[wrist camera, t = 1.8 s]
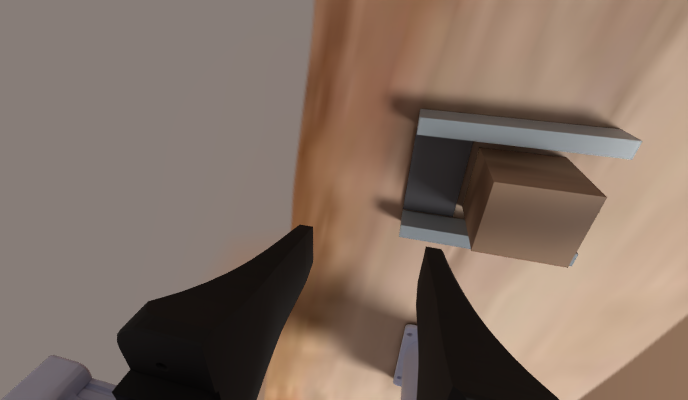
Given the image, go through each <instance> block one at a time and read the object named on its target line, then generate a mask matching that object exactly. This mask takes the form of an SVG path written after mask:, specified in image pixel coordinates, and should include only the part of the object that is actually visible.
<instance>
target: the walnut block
mask: <svg viewBox="0 0 688 400" xmlns="http://www.w3.org/2000/svg"><path fill="white" fill-rule="evenodd" d="M606 198H607V197H606V196H605V195H604V194H603V193H602V192H601V191H600V190H599V189H598V188H597V187H596V186H595V185H594V184H593V183H592V182H591V181H590V180H589V179H588V178H587V177H586V176H585V175H584V174H583V173H582V172H581V171H580V170H579V169H578V168H577V167H576V166H575V165H574V164H573V163H572V162H571V161H570V160H569V159H568V158H566V157H557V156H549V155H541V154H532V153H524V152H516V151H507V150H499V149H490V148H482V147H479V151H478V154H477V158H476V161H475V165H474V168H473V172H472V175H471V179H470V182H469V186H468V189H467V193H466V196H465V200H464V203H463V212H464V217H465V222H466V227H467V232H468V237H469V242H470V247H471V251H475V252H480V253H486V254H492V255H498V256H503V257H509V258H515V259H521V260H527V261H532V262H538V263H544V264H550V265H555V266H561V267H567V268H568V266H569V265H570V263H571V261H572V259H573V257H574V256H575V254H576V252H577V250H578V249H579V247H580V245H581V243H582V241H583V240H584V238H585V236H586V234H587V232H588V231H589V229H590V227H591V225H592V223H593V222H594V220H595V218H596V216H597V214H598V213H599V211H600V209H601V207H602V206H603V204H604V202H605V200H606Z"/></svg>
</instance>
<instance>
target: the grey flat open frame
mask: <svg viewBox="0 0 688 400" xmlns="http://www.w3.org/2000/svg"><path fill="white" fill-rule="evenodd" d="M473 141H476V142H485V143H494V144H502V145H511V146H519V147H528V148H536V149H545V150H554V151H562V152H571V153H579V154H588V155H596V156H605V157H614V158H622V159H631V160H632V159H633V157H634V155H635V154H636V152H637V150H638V148H639V146H640V145H641V143H642V141H641V140H639V139H638V138H636V137H634V136H632V135H631V134H629V133H627V132H625V131H623V130H622V129H614V128H604V127H594V126H585V125H575V124H565V123H555V122H546V121H536V120H526V119H517V118H507V117H497V116H487V115H478V114H468V113H458V112H448V111H439V110H429V109H420V113H419V119H418V126H417V131H416V137H415V143H414V148H413V154H412V160H411V166H410V172H409V177H408V183H407V189H406V195H405V201H404V207H403V209H406V210H403V212H402V218H401V225H400V233H399V237H403V238H409V239H415V240H421V241H427V242H432V243H438V244H444V245H450V246H456V247H461V248H467V249H471V247H470V242H469V237H468V232H467V227H466V222H465V220H464V219H458V218H451V217H453V214H454V211H455V207H456V203H457V200H458V196H459V192H460V189H461V185H462V181H463V178H464V174H465V170H466V167H467V163H468V159H469V156H470V152H471V148H472V145H473ZM407 210H413V211H419V212H413V211H407ZM420 212H425V213H420ZM426 213H432V214H438V215H432V214H426ZM439 215H445V216H451V217H445V216H439ZM577 256H578V253H577V252H576V254H575V256H574V257H573V259H572V261H571V263H570V265H569V266H572V265H573V263H574V261H575V260H576V258H577Z"/></svg>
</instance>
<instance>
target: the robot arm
mask: <svg viewBox="0 0 688 400" xmlns="http://www.w3.org/2000/svg"><path fill="white" fill-rule="evenodd" d="M312 264H313V227H311V226H305V225H299V226H297V227H296V228H295V229H293V230H292V231H291V232H289V233H288V234H287V235H286V236H284V237H283V238H282V239H280V240H279V241H278V242H276V243H275V244H274V245H272V246H271V247H270V248H268V249H267V250H265V251H264V252H262V253H261V254H259V255H258V256H256V257H255V258H253V259H252V260H250V261H248V262H247V263H245V264H243V265H241V266H240V267H238V268H236V269H234V270H232V271H230V272H228V273H226V274H224V275H222V276H220V277H217V278H215V279H213V280H211V281H209V282H206V283H204V284H201V285H198V286H196V287H193V288H190V289H188V290H185V291H182V292H179V293H176V294H172V295H169V296H166V297H162V298H159V299H155V300H151V301H148V302H147V303H146V304H145V305H144V306H143V307H142V308H141V309H140V310H139V311H138V312H137V313H136V314H135V315H134V316H133V317H132V318H131V319H130V320H129V321H128V323H126V325H125V326H124V327H123V328H122V329H121V330H120V331H119V333H118V334H117V343H118V345H119V348H120V350H121V352H122V354H123V356H124V358H125V359H126V361H127V363H128V365H129V367H130V371H129V372H128V373H127V374H126V375H125V377H124V378H123V379H122V380H121V382H120V383H119V384H118V385H113V384H110V383H107V382H104V381H100V380H96V379H93V378H92V376H91V374H90V372H89V370H88V369H87V368H86V367H85V366H84V365H82V364H81V363H79V362H76V361H72V360H69V359H66V358H62V357H59V356H55V355H51V356H49V357H48V358H47V359H46V360H45V361H43V362H42V363H41V364H40V365H39V366H38V367H37V368H36V369H35V370H33V371H32V372H31V373H30V374H29V375H28V376H27V377H26V378H25V379H24V380H22V381H21V382H20V383H19V384H18V385H17V386H16V387H14V388H13V389H12V390H11V391H10V392H9V393H8V394H7V395H6V396H5V397H3V398H2V399H1V400H257V397H258V394H259V391H260V388H261V385H262V382H263V379H264V376H265V374H266V371H267V368H268V365H269V363H270V360H271V357H272V354H273V352H274V349H275V347H276V344H277V341H278V339H279V336H280V334H281V331H282V329H283V327H284V325H285V322H286V320H287V319H288V317H289V315H290V313H291V311H292V309H293V307H294V305H295V303H296V301H297V299H298V297H299V295H300V293H301V291H302V289H303V287H304V285H305V283H306V281H307V278H308V275H309V272H310V269H311V266H312ZM416 312H417V326H416V325H412V324H408V325H406V326H405V330H404V335H403V339H402V343H401V348H400V352H399V356H398V361H397V365H396V369H395V374H394V378H393V383H394V384H395V385H397V386H401V387H402V389H401V400H559V399H558V398H557V397H556V396H555V395H554V394H553V393H551V392H550V391H549V390H548V389H547V388H546V387H545V386H543V385H542V384H541V383H540V382H539V381H538V380H537V379H536V378H534V377H533V376H532V375H531V374H530V373H529V372H528V371H527V370H526V369H525V368H524V367H523V366H522V365H521V364H520V363H519V362H518V361H517V360H516V359H515V358H514V357H513V356H512V355H511V354H510V353H509V352H508V351H507V350H506V349H505V348H504V346H503V345H502V344H501V343H500V342H499V341H498V340H497V339H496V338H495V336H494V335H493V334H492V333H491V331H490V330H489V329H488V328H487V327H486V325H485V324H484V323H483V321H482V320H481V319H480V317H479V316H478V314H477V313H476V312H475V310H474V309H473V307H472V306H471V304H470V302H469V301H468V299H467V298H466V296H465V295H464V293H463V291H462V289H461V288H460V286H459V284H458V282H457V280H456V279H455V277H454V275H453V273H452V271H451V269H450V267H449V265H448V262H447V260H446V258H445V255H444V253H443V251H442V250H441V249H437V248H431V247H426V249H425V253H424V258H423V262H422V266H421V270H420V275H419V279H418V286H417V299H416Z"/></svg>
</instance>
